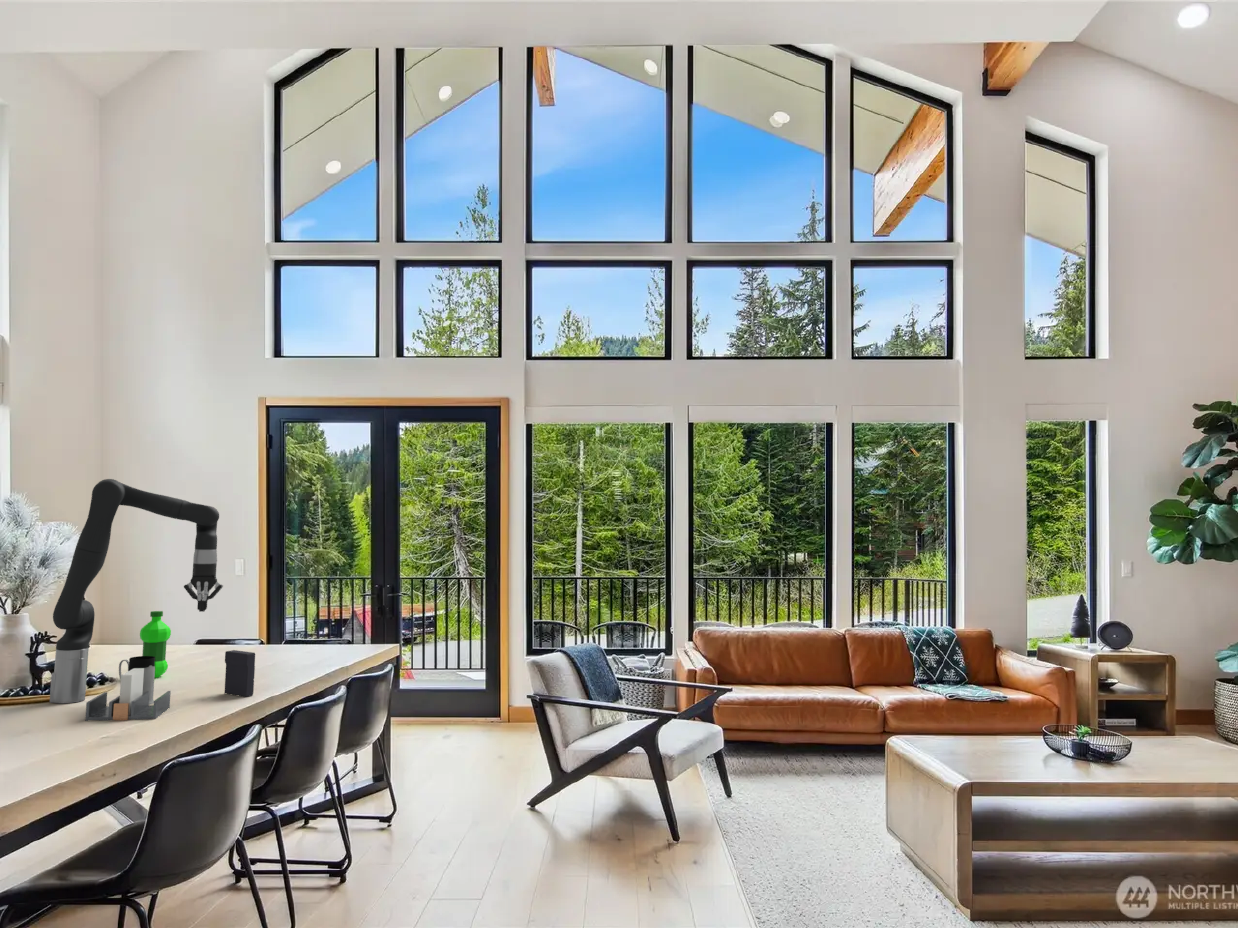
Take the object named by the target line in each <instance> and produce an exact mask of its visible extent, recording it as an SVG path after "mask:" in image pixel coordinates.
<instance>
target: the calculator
mask: <svg viewBox="0 0 1238 928" xmlns="http://www.w3.org/2000/svg"><path fill="white" fill-rule="evenodd" d="M224 663H225V677H224V694H225V693H227V694H226V695H230V694H232V695H231V696H236V695H239V696H238V697H242V696H245V697H244V698H247V696H248V697H252V696H253V695H254V693H255V692H254V689H255V688H254V687H255V673H256V672H255V671H256V666H255V664H256V653H255V652H252V651H243V650H238V649H236V650H235V649H233V650H226V651H225V652H224Z"/></svg>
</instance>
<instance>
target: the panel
mask: <svg viewBox="0 0 1238 928" xmlns="http://www.w3.org/2000/svg"><path fill="white" fill-rule="evenodd" d="M143 677H144V668H134V669H132V670H130V671H128V670H127V671H126V672H124V673H123V674H122V675H121V680H120V689H119V696H120V700H119V703H129V712H128V714H131V704H132V701H133V700H135V699H136V698H138V697H139V696H141V695H142V693H143Z"/></svg>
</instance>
